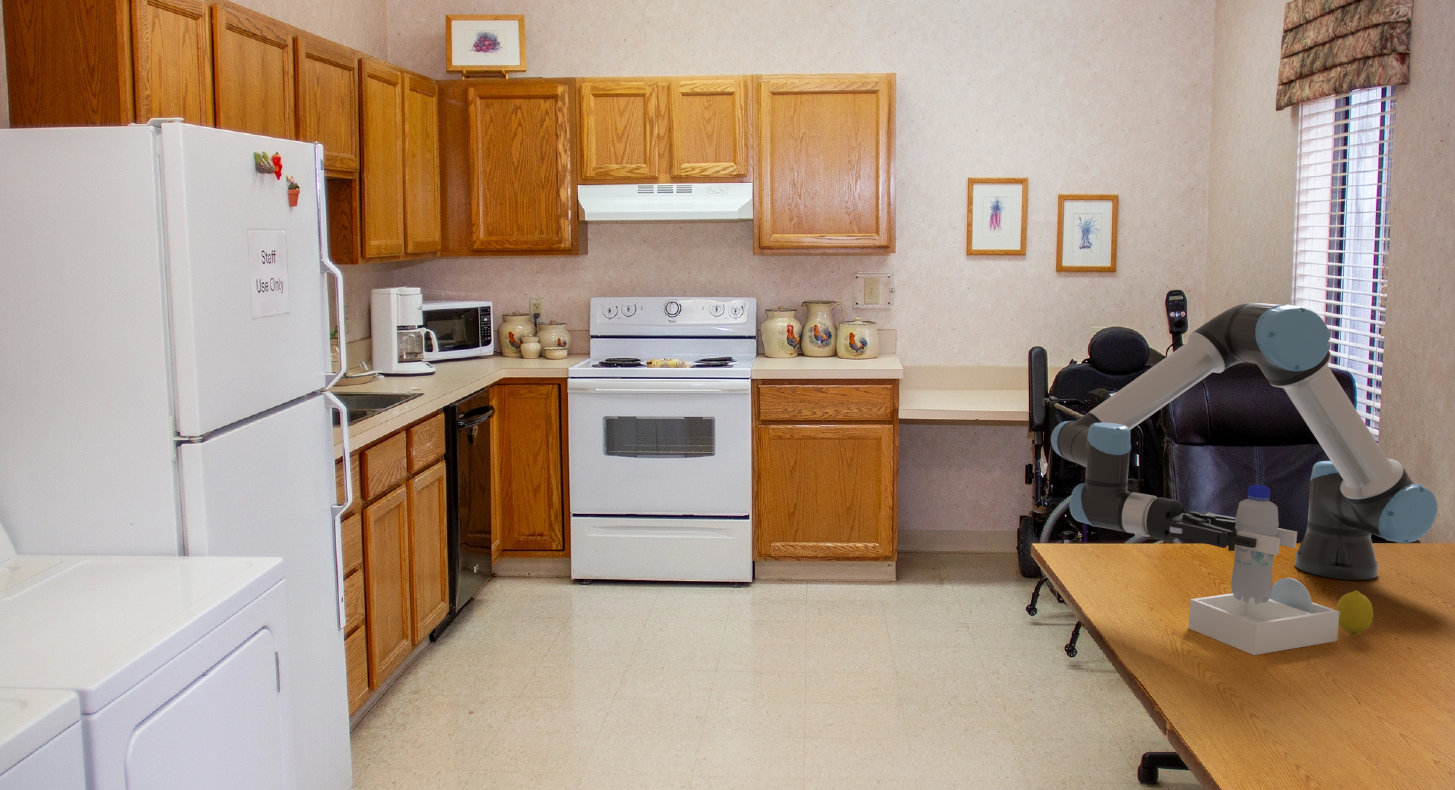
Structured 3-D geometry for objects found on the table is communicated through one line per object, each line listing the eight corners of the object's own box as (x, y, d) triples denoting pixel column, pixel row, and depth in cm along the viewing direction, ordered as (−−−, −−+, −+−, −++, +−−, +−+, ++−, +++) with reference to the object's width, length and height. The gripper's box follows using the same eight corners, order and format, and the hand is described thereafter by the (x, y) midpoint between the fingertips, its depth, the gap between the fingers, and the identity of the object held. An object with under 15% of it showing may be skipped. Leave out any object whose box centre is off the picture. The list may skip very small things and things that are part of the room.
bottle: (1221, 594, 193) (1230, 480, 191) (1258, 593, 194) (1267, 480, 191) (1242, 606, 187) (1251, 489, 184) (1280, 606, 187) (1290, 489, 185)
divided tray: (1268, 615, 202) (1272, 566, 201) (1336, 640, 190) (1341, 588, 188) (1188, 627, 195) (1191, 576, 194) (1253, 655, 182) (1258, 600, 181)
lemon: (1375, 642, 189) (1380, 596, 188) (1340, 639, 190) (1344, 594, 189) (1364, 631, 195) (1368, 587, 194) (1329, 629, 196) (1333, 584, 195)
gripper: (1177, 529, 209) (1307, 555, 192) (1126, 546, 196) (1261, 575, 179) (1180, 489, 208) (1311, 512, 191) (1129, 504, 195) (1264, 530, 178)
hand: (1286, 543), depth 185 cm, fingers closed on bottle, 6 cm apart
